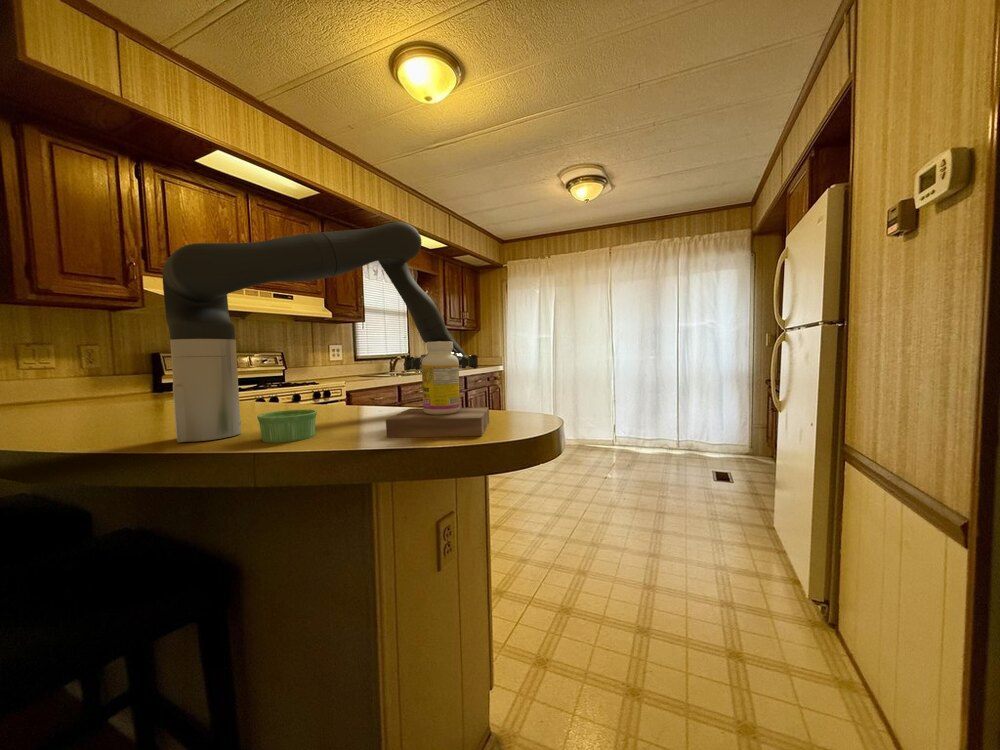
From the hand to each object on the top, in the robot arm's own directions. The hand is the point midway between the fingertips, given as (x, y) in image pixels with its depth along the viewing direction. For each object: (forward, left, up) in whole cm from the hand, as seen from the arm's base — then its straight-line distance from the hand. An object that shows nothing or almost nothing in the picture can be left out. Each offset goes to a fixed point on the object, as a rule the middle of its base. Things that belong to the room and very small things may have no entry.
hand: (440, 363), depth 72 cm
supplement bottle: (-1, -1, -9) cm, 9 cm away
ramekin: (-23, +13, -12) cm, 29 cm away
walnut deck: (-1, -1, -12) cm, 12 cm away
